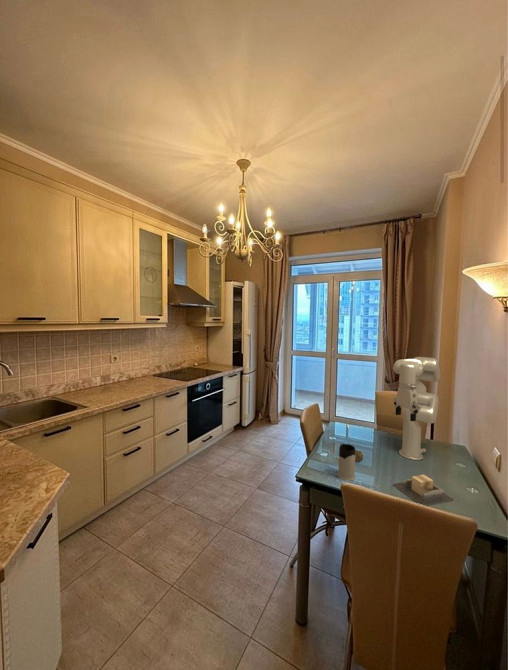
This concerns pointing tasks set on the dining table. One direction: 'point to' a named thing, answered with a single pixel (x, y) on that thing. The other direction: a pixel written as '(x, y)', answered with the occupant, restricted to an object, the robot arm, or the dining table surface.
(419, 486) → the oak lock block
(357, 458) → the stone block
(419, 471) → the dining table surface
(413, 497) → the cradle
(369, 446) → the dining table surface
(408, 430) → the robot arm
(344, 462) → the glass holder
